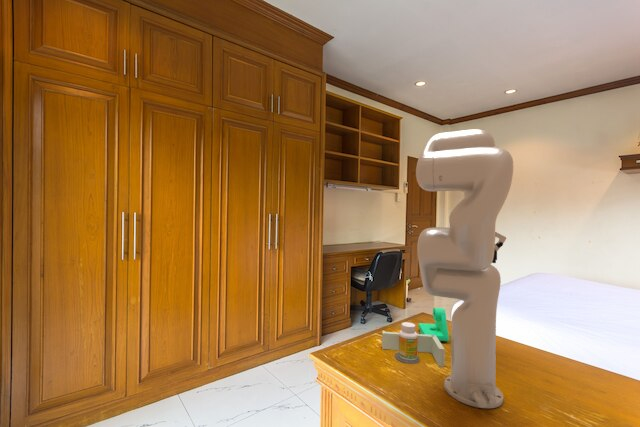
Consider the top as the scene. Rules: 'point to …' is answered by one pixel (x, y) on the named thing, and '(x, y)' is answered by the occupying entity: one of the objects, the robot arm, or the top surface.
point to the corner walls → (424, 345)
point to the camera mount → (436, 325)
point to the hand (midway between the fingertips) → (476, 261)
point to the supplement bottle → (408, 342)
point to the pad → (405, 360)
